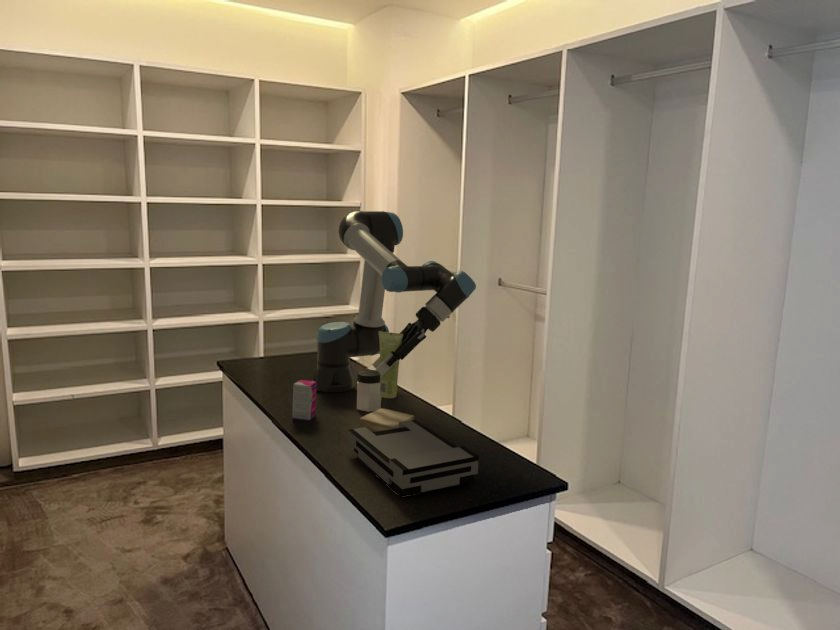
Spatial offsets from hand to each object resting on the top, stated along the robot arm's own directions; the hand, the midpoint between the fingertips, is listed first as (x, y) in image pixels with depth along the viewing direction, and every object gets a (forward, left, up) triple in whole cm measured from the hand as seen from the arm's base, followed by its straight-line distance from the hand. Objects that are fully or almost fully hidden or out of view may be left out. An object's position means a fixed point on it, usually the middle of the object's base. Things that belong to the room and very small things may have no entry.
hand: (377, 369), depth 187 cm
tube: (-3, +3, -8) cm, 9 cm away
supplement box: (+3, -24, -19) cm, 31 cm away
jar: (-17, -14, -19) cm, 29 cm away
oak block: (-3, +2, -19) cm, 19 cm away
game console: (+18, +22, -19) cm, 35 cm away
